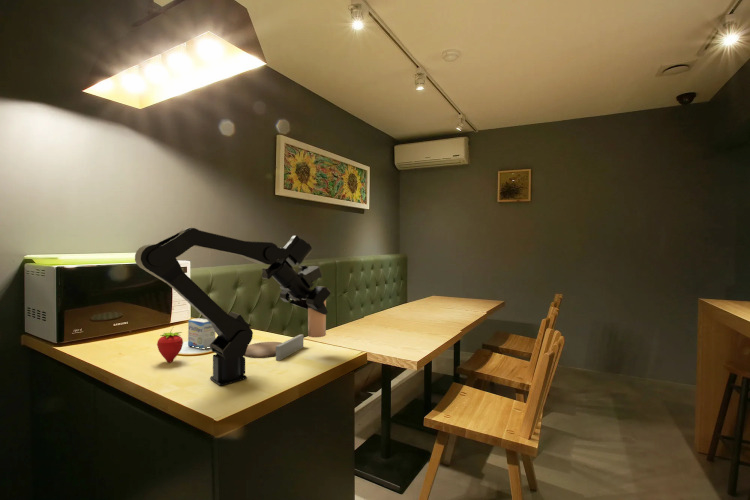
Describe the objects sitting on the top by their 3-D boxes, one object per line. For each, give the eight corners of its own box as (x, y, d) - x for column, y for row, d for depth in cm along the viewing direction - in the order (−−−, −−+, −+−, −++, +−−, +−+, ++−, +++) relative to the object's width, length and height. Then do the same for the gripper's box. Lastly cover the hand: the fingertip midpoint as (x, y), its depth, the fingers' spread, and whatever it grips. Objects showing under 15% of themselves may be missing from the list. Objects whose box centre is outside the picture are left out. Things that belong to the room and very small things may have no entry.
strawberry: (173, 357, 102) (173, 323, 102) (188, 361, 99) (188, 326, 98) (152, 363, 97) (151, 327, 97) (166, 368, 94) (166, 330, 93)
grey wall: (279, 360, 100) (279, 346, 99) (275, 360, 100) (275, 346, 100) (303, 346, 113) (303, 334, 113) (300, 346, 113) (300, 334, 113)
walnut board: (254, 361, 99) (254, 358, 99) (233, 350, 109) (233, 348, 109) (297, 350, 109) (297, 347, 109) (273, 341, 119) (273, 339, 119)
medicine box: (187, 346, 113) (187, 320, 113) (200, 343, 117) (200, 317, 117) (203, 350, 110) (203, 322, 110) (215, 346, 114) (215, 319, 114)
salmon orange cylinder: (315, 338, 100) (315, 300, 100) (304, 335, 104) (304, 298, 103) (329, 335, 104) (329, 298, 104) (318, 332, 107) (318, 296, 107)
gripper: (324, 257, 94) (355, 294, 102) (288, 256, 107) (318, 288, 115) (299, 289, 89) (334, 325, 96) (264, 283, 102) (297, 316, 110)
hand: (320, 312), depth 105 cm, fingers closed on salmon orange cylinder, 5 cm apart
